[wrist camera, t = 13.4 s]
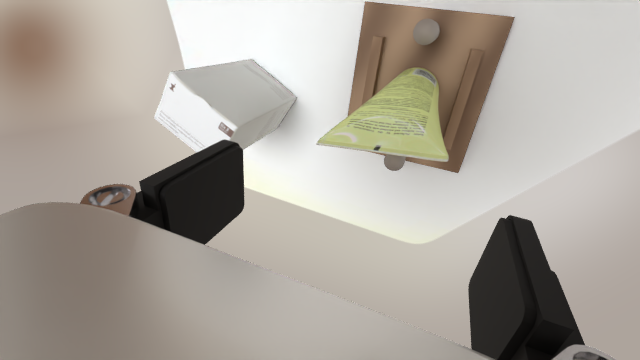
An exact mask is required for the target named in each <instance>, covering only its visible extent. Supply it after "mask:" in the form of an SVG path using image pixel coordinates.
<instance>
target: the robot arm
mask: <svg viewBox="0 0 640 360" xmlns="http://www.w3.org/2000/svg"><path fill="white" fill-rule="evenodd" d="M139 182H140V187H141V191H140V192H138V193H136V190H135V189H134V187H132V186H129V185H125V184H113V185H106V186H103V187H99V188H96V189H94V190H92V191H90V192H89V193H87V194H86V195H85V196H84V197H83V199H82V200H81V202H80V204H78V203H67V202H66V203H63V202H49V203H37V204H31V205H27V206H23V207H20V208H17V209H14V210H12V211H9V212H7V213H4V214H1V215H0V360H615V359H614V358H613V357H611V356H610V355H608V354H606V353H604V352H602V351H600V350H598V349H596V348H593V347H589V346H586V345H585V344H584V341H583V339H582V337H581V334H580V332H579V329H578V327H577V324H576V322H575V319H574V317H573V315H572V312H571V310H570V307H569V305H568V302H567V300H566V297H565V295H564V292H563V290H562V288H561V285H560V282H559V280H558V278H557V275H556V274H555V272H553V271H551V270H550V267H549V264H548V262H547V260H546V257H545V254H544V252H543V249H542V246H541V244H540V241H539V239H538V236H537V234H536V231H535V229H534V226H533V223H532V222H531V221H529V220H526V219H522V218H518V217H515V216H511V215H510V216H508V217H507V218H506V219H505V218H500V219H499V221H498V223H497V225H496V227H495V229H494V231H493V233H492V235H491V237H490V240H489V242H488V244H487V246H486V248H485V250H484V252H483V254H482V256H481V259H480V260H479V263H478V265H477V267H476V269H475V271H474V273H473V275H472V277H471V280H470V283H469V309H470V327H471V346H472V349H469V348H467V347H465V346H462V345H460V344H457V343H455V342H453V341H450V340H448V339H446V338H443V337H441V336H438V335H436V334H433V333H431V332H428V331H426V330H423V329H421V328H418V327H415V326H413V325H410V324H408V323H405V322H402V321H400V320H397V319H395V318H392V317H390V316H387V315H385V314H382V313H380V312H377V311H374V310H372V309H369V308H367V307H364V306H362V305H359V304H356V303H354V302H352V301H349V300H346V299H344V298H341V297H339V296H336V295H334V294H331V293H328V292H326V291H323V290H320V289H318V288H315V287H313V286H310V285H308V284H305V283H302V282H300V281H297V280H295V279H292V278H289V277H287V276H284V275H282V274H279V273H276V272H274V271H271V270H269V269H266V268H263V267H261V266H258V265H255V264H253V263H251V262H248V261H245V260H243V259H240V258H238V257H235V256H232V255H230V254H227V253H225V252H222V251H219V250H217V249H214V248H211V247H209V246H206V245H205V244H206V243H207V242H208V241H210V240H211V239H212V238H213V237H214V236H215V235H216V234H217V233H219V232H220V231H221V230H222V229H223V228H224V227H225V226H226V225H227V224H229V223H230V222H231V221H232V220H233V219H234V218H236V217H237V216H238V215H239V214H240V213H241V212H242V210H243V208H244V175H243V150H242V148H241V147H240V145H239V144H238V143H236V142H233V141H229V140H225V139H224V140H221V141H219V142H217V143H215V144H213V145H211V146H209V147H207V148H205V149H203V150H201V151H199V152H197V153H195V154H193V155H191V156H189V157H187V158H185V159H183V160H181V161H179V162H177V163H176V164H173V165H171V166H169V167H167V168H165V169H163V170H162V171H159V172H157V173H155V174H153V175H151V176H150V177H147V178H145V179H143V180H141V181H139Z"/></svg>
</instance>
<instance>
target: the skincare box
mask: <svg viewBox="0 0 640 360" xmlns="http://www.w3.org/2000/svg"><path fill="white" fill-rule="evenodd" d="M296 98H297V97H296V96H295V95H294V94H292V93H291V92H290V91H289V90H288V89H287V88H285V87H284V86H283V85H282V84H281V83H279V82H278V81H277V80H276V79H275V78H273V77H272V76H271V75H270V74H269V73H267V72H266V71H265V70H264V69H262V68H261V67H260V66H259V65H257V64H256V63H255V62H254V61H253V60H252V59H250V60H243V61H237V62H231V63H225V64H218V65H212V66H206V67H199V68H193V69H186V70H179V71H171V72H170V73H169V76H168V80H167V82H166V85H165V88H164V92H163V94H162V98H161V101H160V103H159V106H158V109H157V111H156V114H155V117H154V118H155V119H156V120H157V121H158V122H159V123H161V124H162V125H163V126H164V127H165V128H167V129H168V130H169V131H171V132H172V133H173V134H174V135H175V136H177V137H178V138H179V139H181V140H182V141H183V142H184V143H185V144H187V145H188V146H189V147H190V148H192V149H193V150H194V151H195V152H196V153H197V152H199V151H201V150H203V149H205V148H207V147H209V146H211V145H213V144H215V143H217V142H219V141H221V140H224V139H225V140H229V141H233V142H236V143H238V144H239V145H240V147H241V148H242V150H243V149H245V148H247V147H248V146H250V145H252V144H253V143H255V142H256V141H258V140H260V139H261V138H263V137H264V136H266V135H267V134H269V133H271V132H272V131H274V130H275V129H277V128H278V126H279V124H280V123H281V121H282V120H283V118H284V117H285V115H286V114H287V112H288V111H289V109H290V108H291V106H292V104H293V103H294V101H295V100H296Z"/></svg>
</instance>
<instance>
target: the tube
mask: <svg viewBox="0 0 640 360" xmlns="http://www.w3.org/2000/svg"><path fill="white" fill-rule="evenodd" d="M438 97H439V85H438V81H437V79H436V77H435V76H434V75H433V74H432V73H431V72H430V71H428V70H426V69H424V68H419V67H417V68H410V69H407V70H405V71H403V72H402V73H401V74H399V75H398V76H397V77H396V78H395V79H393V80H392V81H391V82H390V83H389V84H388V85H386V86H385V87H384V88H383V89H382V90H380V91H379V92H378V93H377V94H376V95H374V96H373V97H372V98H371V99H369V100H368V101H367V102H366V103H364V104H363V105H362V106H361V107H359V108H358V109H357V110H356V111H354V112H353V113H352V114H351V115H349V116H348V117H347V118H346V119H344V120H343V121H342V122H340V123H339V124H338V125H336V126H335V127H334V128H333V129H331V130H330V131H329V132H328V133H326V134H325V135H324V136H323V137H322V138H320V139H319V141H318V142H317V143H316V144H317V145H324V146H332V147H340V148H347V149H354V150H361V151H370V152H377V153H384V154H391V155H398V156H405V157H412V158H419V159H425V160H433V161H441V162H447V161H448V159H449V156H448V153H447V150H446V148H445V145H444V141H443V137H442V133H441V128H440V122H439V113H438Z"/></svg>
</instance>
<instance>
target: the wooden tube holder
mask: <svg viewBox="0 0 640 360" xmlns="http://www.w3.org/2000/svg"><path fill="white" fill-rule="evenodd" d="M513 20H514V17H508V16H499V15H489V14H480V13H470V12H461V11H451V10H441V9H432V8H422V7H413V6H403V5H393V4H384V3H374V2H365V6H364V13H363V19H362V26H361V32H360V39H359V46H358V52H357V59H356V65H355V72H354V78H353V85H352V92H351V98H350V105H349V111H348V116H349V115H351V114H352V113H353V112H354V111H356V110H357V109H358V108H359V107H361V106H362V105H363V104H364V103H366V102H367V101H368V100H369V99H371V98H372V97H373V96H374V95H376V94H377V93H378V92H379V91H380V90H382V89H383V88H384V87H385V86H386V85H388V84H389V83H390V82H391V81H392V80H393V79H395V78H396V77H397V76H398V75H399V74H401V73H402V72H403V71H405V70H407V69H410V68H417V67H419V68H424V69H426V70H428V71H430V72H431V73H432V74H433V75H434V76H435V77H436V79H437V81H438V85H439V97H438V113H439V122H440V128H441V133H442V137H443V141H444V145H445V148H446V150H447V153H448V156H449V159H448V161H447V162H441V161H433V160H425V159H419V158H412V157H405V156H398V155H391V154H384V153H377V152H372V153H376V154H380V155H385V156H386V157H385V159H384V164H385V166H386V167H387V168H388V169H389V170H392V171H397V170H399V169H401V168H402V167H403V165H404V162H405V160H406V161H410V162H414V163H418V164H422V165H427V166H431V167H435V168H439V169H443V170H448V171H452V172H456V173H458V172H459V170H460V167H461V164H462V161H463V158H464V156H465V153H466V150H467V147H468V145H469V142H470V139H471V136H472V134H473V131H474V128H475V125H476V122H477V120H478V117H479V114H480V111H481V109H482V106H483V103H484V100H485V98H486V95H487V92H488V89H489V86H490V84H491V81H492V78H493V75H494V73H495V70H496V67H497V64H498V62H499V59H500V56H501V53H502V50H503V48H504V45H505V42H506V39H507V37H508V34H509V31H510V28H511V26H512V23H513ZM368 152H370V151H368Z"/></svg>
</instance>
